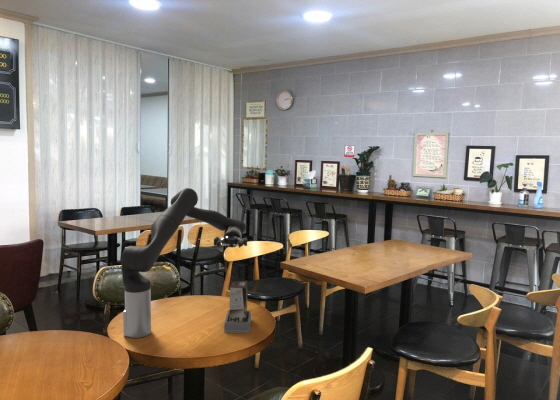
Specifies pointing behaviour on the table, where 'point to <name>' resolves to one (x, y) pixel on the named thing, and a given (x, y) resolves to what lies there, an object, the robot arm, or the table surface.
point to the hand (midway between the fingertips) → (229, 245)
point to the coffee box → (238, 301)
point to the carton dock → (237, 324)
